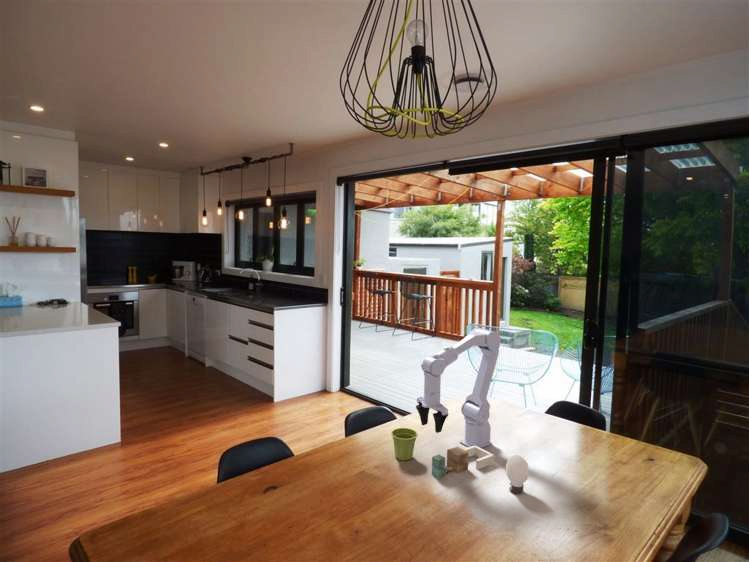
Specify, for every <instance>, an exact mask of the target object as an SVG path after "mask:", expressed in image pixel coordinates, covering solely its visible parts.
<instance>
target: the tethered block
mask: <svg viewBox="0 0 749 562" xmlns="http://www.w3.org/2000/svg"><path fill="white" fill-rule="evenodd" d="M464 449H465V448H462V447H460V446H455V447H453V448H449V449H447V450H446V457H444V456H443V455H441V454H436V455H433V456H432V458H431V459H432V460H431V475H432V476H434V477H435V478H437V479H440V478H443V477H446V473H447V472H448V473H449V472H450V471H452V472H453V473H456V474H459V473H461V472H464V471H467V470H469V457H468V452H467V451H465V450H464ZM446 467H447V468H446Z"/></svg>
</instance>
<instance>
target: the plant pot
mask: <svg viewBox="0 0 749 562" xmlns="http://www.w3.org/2000/svg"><path fill="white" fill-rule="evenodd" d="M391 436H392V439H393V446H394V456H395V459H398V461H399V460H400V461H406V462H407V461H408V460H412V459H413V455H414V449H415V443H416V440H417V437H418V436H419V434H418V432H417V431H416V430H414V429H413V428H409V427H408V428H407V427H399V428H395V429H392V431H391Z"/></svg>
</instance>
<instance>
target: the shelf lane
mask: <svg viewBox="0 0 749 562" xmlns="http://www.w3.org/2000/svg"><path fill="white" fill-rule="evenodd" d="M463 449H464V450H465V451H467V452H468V458H471V457H474V456H476V457H478V458H477V459H476V460H475V461H476V462H475V469H477V470H480V469H484V468H485V467H488V466H491V465H493V464H495V454H493V453H491V452H489V451H487V450H485V449H484V448H479V447H477V446H475V445H474V446H471V447H468V446H467V447H465V448H463Z"/></svg>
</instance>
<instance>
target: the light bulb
mask: <svg viewBox="0 0 749 562" xmlns="http://www.w3.org/2000/svg"><path fill="white" fill-rule="evenodd" d="M529 468H530V467H529V464H528V462H527V461H526V459H525V458H524V457H522V456H521V455H519V454H518V455H517V454H515V455H512V456H510V457H509V458H508V460H507V462H506V464H505V472H506V473H505V474H506V476H507V478H508V480H509V481H510V483H509V492H510V493H512V494H517V495H521V494H523V493H524V486H525V484H524V483H525V482H526V481H527V480H528V478H529V474H530V471H529V470H530V469H529Z"/></svg>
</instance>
